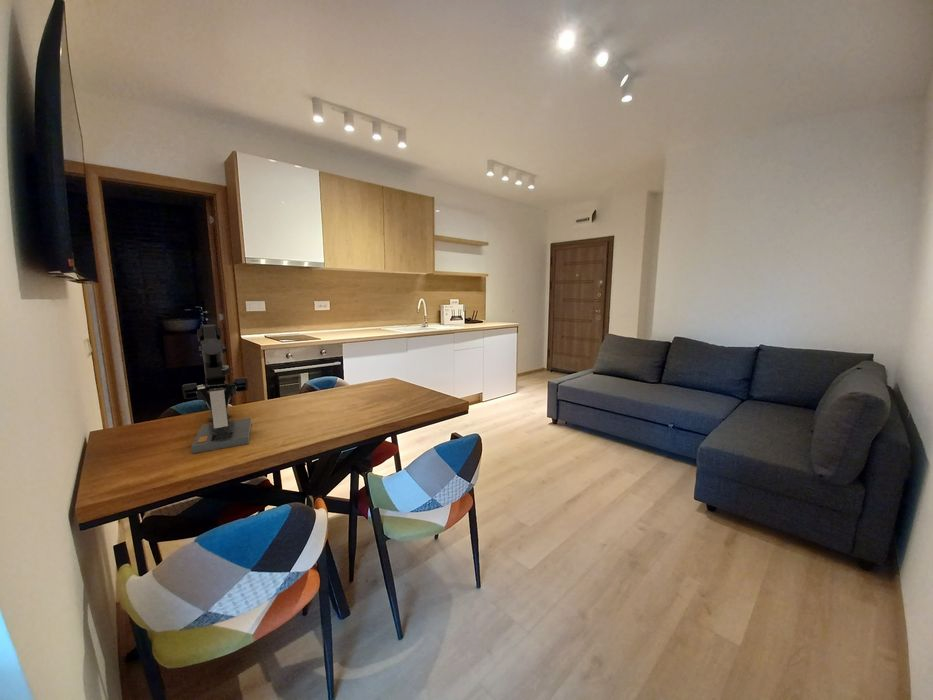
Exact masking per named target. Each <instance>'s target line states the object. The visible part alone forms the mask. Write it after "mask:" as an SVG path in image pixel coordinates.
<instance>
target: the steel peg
mask: <svg viewBox="0 0 933 700" xmlns="http://www.w3.org/2000/svg"><path fill="white" fill-rule="evenodd" d="M209 390H210V400H211V408H212V416H213V421H212V423H213V424H214V428H220V427H225V426H228V421H229V420H228V419H227V413H228V412H227V413H226V404H225V395H224V388H223V387H222V388H214V389H209Z"/></svg>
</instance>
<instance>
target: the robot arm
mask: <svg viewBox="0 0 933 700" xmlns="http://www.w3.org/2000/svg"><path fill="white" fill-rule="evenodd" d="M196 333H197V341H198V342H200V345H199V346H198V353H199V356H201V357H202V359H203V364H204V365H203V368H204V381H205V384H199V385H197V382H193V383H185V384H183V385H182V386H181V391H182V392H181V393H182V395H183V399H184V400H191V399H196V398H197V399H198V400H202V401H203V403H204V404H205V408H208V409H209V410H210V418H209V422H210V421H211V422H213V416H212V408H211V400H210V390H209V389H214V388H222V387H223V388H224V395H225V404H226V413H227V420H228V419H229V418H230V416H231V415H230V413H228V406H229V405H230V404H231V403H232V402H233V401H232V400H233V399H232V397H233V395H236V394H237V393H240V392H241V393H242V392H246V391H248V379H247V377H235V378H233V381H232V382H226V381H227V380H226V376H230V374H231V373H230V366H229V365H230V364H225V365H224V359H223V357H224V356H223V355H224V354H225V353H226V352H227V351H228V350H227V347H226V346H225V345H224V344H223V343H222V340H223V335H222V334H223V333H222V328H220V327H218V326H217V325H216V324H215V323H214V324H211V323H210V324H203V325H201V327H200V328H198V329H197V330H196Z"/></svg>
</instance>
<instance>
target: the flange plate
mask: <svg viewBox="0 0 933 700" xmlns="http://www.w3.org/2000/svg"><path fill="white" fill-rule="evenodd" d="M227 421H228V426H225V427H220V428H214V424H213V422H212V423H211V422H210V423H206V424H205V423H204V424H201V426H200V428H199V430H198V432H197V434H196V436H195V438H194V440H193V442H192V444H191V446H190V449H191V454H197V453H198V454H199V453H204V452H211V451H215V450H222V449H227V448H232V447H238V446H243V445H249V443H250V436H251V430H252V429H251V428H252V418H251V417H246V418H241V419H234V420H233V419H232V420H227Z"/></svg>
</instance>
